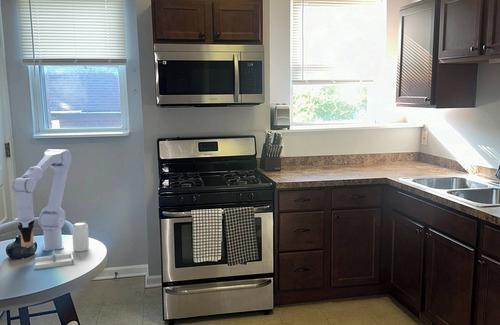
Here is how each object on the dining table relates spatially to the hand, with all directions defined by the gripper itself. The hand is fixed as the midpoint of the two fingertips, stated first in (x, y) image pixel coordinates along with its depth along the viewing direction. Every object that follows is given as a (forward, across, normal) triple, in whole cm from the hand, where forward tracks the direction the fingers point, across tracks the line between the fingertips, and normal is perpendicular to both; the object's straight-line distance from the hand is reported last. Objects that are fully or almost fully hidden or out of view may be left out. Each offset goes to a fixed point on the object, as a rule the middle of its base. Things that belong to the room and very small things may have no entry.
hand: (27, 239), depth 177 cm
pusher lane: (+9, +6, +10) cm, 14 cm away
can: (+9, -6, +20) cm, 23 cm away
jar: (+2, 0, 0) cm, 2 cm away
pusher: (+9, +6, +10) cm, 14 cm away
